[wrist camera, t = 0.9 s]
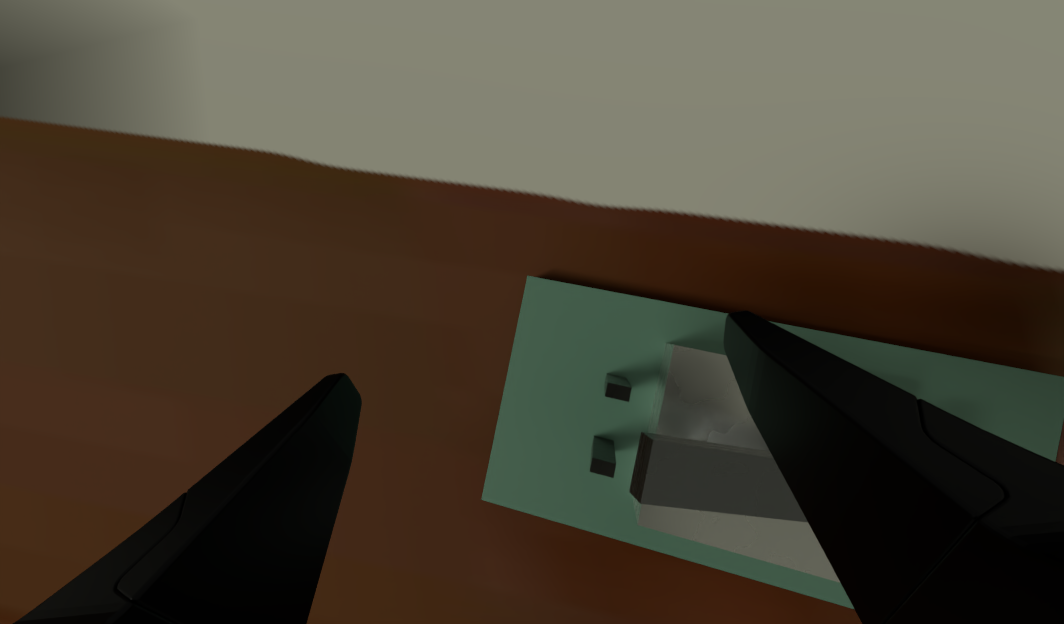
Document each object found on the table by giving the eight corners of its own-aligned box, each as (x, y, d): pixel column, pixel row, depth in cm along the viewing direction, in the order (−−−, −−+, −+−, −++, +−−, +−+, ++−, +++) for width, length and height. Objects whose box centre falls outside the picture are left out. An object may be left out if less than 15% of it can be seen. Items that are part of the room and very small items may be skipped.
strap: (928, 464, 16) (959, 475, 15) (914, 534, 16) (944, 549, 15) (642, 418, 13) (657, 428, 12) (625, 502, 13) (639, 518, 12)
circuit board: (1041, 375, 19) (1071, 378, 17) (990, 635, 18) (1017, 656, 17) (531, 278, 23) (527, 275, 21) (487, 490, 23) (481, 499, 21)
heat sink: (903, 391, 18) (976, 407, 15) (869, 567, 18) (933, 624, 15) (614, 332, 21) (617, 333, 17) (583, 488, 21) (579, 521, 17)
